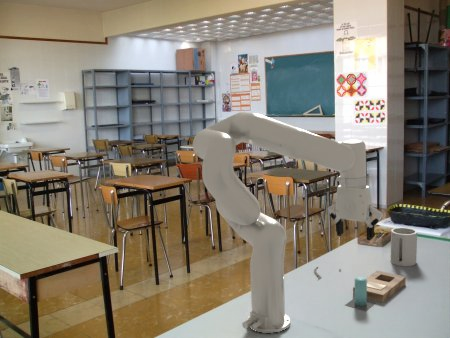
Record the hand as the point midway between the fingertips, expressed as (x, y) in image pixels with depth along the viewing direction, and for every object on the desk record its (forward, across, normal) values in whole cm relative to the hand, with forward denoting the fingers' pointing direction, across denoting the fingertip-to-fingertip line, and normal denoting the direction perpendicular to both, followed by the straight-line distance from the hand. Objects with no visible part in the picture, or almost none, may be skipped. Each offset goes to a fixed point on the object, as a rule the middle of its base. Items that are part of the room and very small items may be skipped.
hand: (354, 236), depth 153 cm
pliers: (+22, -17, +13) cm, 31 cm away
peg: (+21, +2, -1) cm, 21 cm away
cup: (+23, -1, +43) cm, 49 cm away
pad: (+22, +2, -1) cm, 22 cm away
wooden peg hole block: (+22, +2, +13) cm, 26 cm away
